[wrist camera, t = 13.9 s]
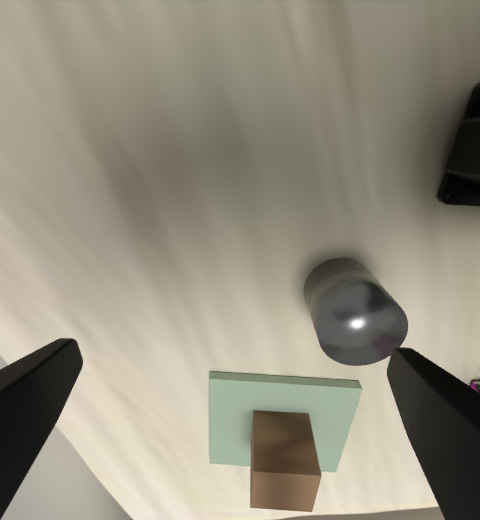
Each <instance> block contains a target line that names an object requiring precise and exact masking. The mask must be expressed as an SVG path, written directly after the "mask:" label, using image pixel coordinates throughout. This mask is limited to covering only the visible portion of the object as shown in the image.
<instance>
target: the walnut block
mask: <svg viewBox="0 0 480 520" xmlns="http://www.w3.org/2000/svg"><path fill="white" fill-rule="evenodd" d="M320 480H321V471H320V466H319V461H318V456H317V451H316V446H315V441H314V437H313V432H312V427H311V422H310V417H309V413H294V412H278V411H261V410H253V421H252V434H251V478H250V508H261V509H276V510H290V511H305V512H312V510H313V506H314V502H315V499H316V495H317V491H318V487H319V483H320Z"/></svg>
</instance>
